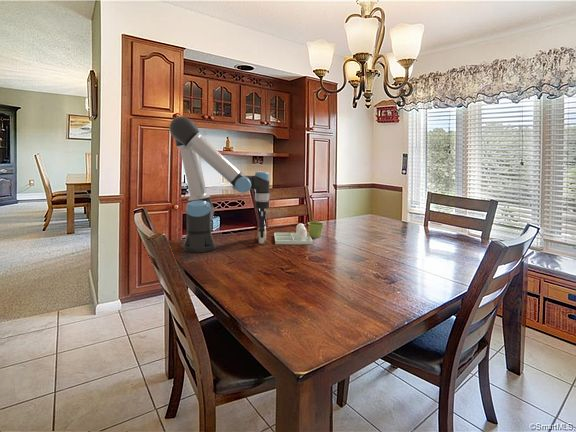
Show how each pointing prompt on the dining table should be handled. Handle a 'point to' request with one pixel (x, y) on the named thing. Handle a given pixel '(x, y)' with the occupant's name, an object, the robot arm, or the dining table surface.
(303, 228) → the white egg far right
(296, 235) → the white egg far left
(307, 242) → the caddy
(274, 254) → the dining table surface
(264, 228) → the wooden egg
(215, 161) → the robot arm
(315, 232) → the plant pot
